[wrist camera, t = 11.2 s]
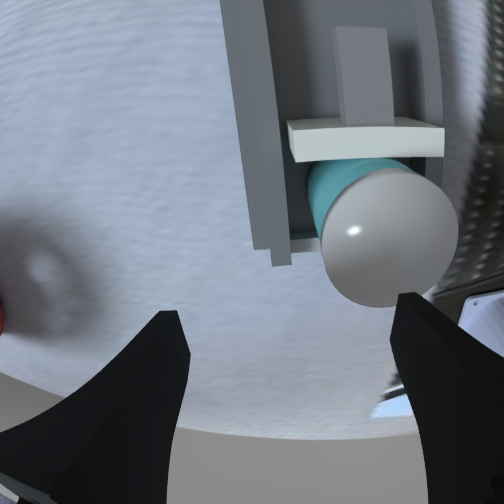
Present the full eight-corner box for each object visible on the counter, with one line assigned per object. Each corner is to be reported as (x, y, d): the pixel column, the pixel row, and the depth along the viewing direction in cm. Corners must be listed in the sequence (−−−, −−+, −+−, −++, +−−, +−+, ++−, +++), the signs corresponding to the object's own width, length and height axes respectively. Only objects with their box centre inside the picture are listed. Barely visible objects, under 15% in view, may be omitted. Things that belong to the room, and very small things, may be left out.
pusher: (398, 42, 12) (438, 32, 9) (405, 139, 15) (443, 156, 11) (276, 42, 13) (280, 25, 9) (288, 144, 15) (295, 162, 12)
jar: (400, 142, 15) (470, 181, 9) (389, 230, 17) (438, 305, 11) (306, 135, 15) (329, 169, 9) (302, 228, 18) (316, 308, 12)
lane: (392, -98, 8) (415, -125, 5) (427, 227, 18) (456, 258, 15) (207, -101, 9) (194, -134, 6) (254, 242, 19) (251, 278, 16)
